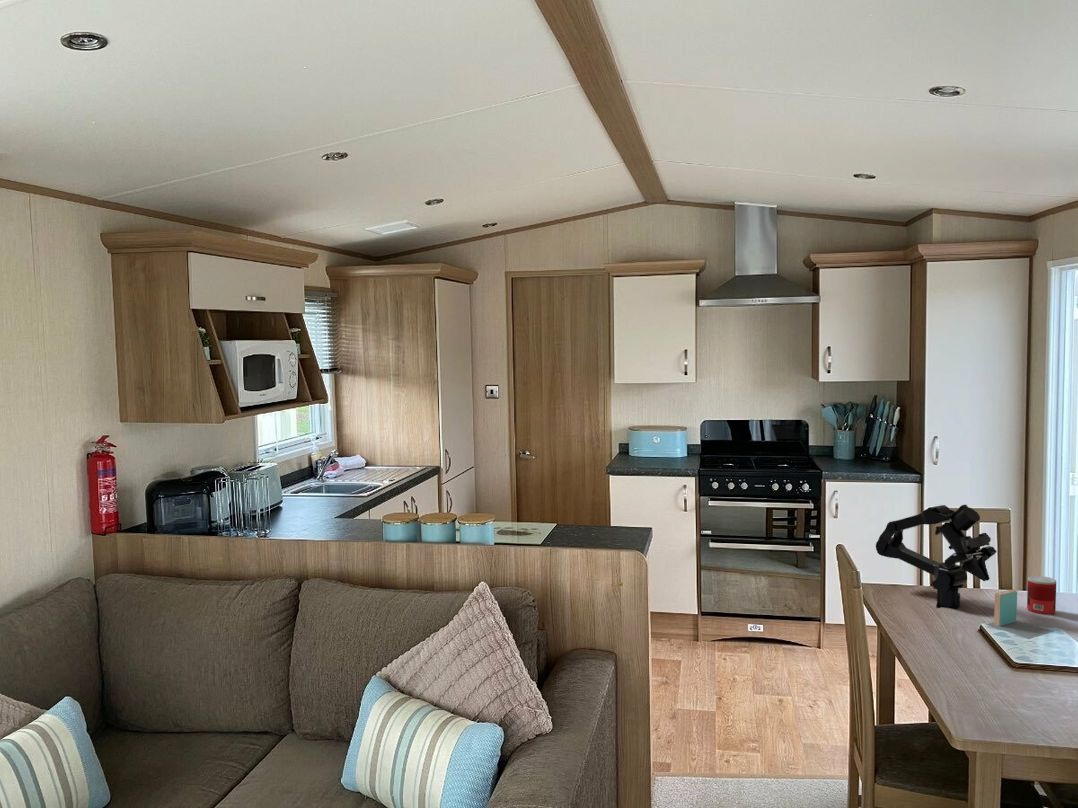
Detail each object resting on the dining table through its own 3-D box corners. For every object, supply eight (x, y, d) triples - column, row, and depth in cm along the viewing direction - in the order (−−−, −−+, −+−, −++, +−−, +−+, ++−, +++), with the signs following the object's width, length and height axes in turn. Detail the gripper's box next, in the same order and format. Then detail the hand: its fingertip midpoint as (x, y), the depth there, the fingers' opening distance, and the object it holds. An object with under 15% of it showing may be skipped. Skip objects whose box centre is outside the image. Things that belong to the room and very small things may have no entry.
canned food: (1060, 615, 269) (1061, 582, 268) (1035, 616, 269) (1036, 582, 268) (1046, 608, 277) (1047, 575, 276) (1022, 608, 277) (1023, 575, 276)
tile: (994, 624, 261) (994, 593, 260) (1010, 620, 265) (1011, 589, 264) (1000, 626, 259) (1001, 595, 258) (1016, 622, 263) (1017, 591, 262)
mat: (985, 625, 262) (985, 624, 262) (1010, 619, 267) (1010, 617, 267) (1028, 640, 249) (1028, 638, 249) (1053, 633, 254) (1054, 631, 254)
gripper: (953, 528, 266) (984, 571, 257) (991, 521, 274) (1023, 562, 265) (931, 547, 274) (961, 589, 265) (969, 540, 282) (999, 580, 273)
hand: (987, 580), depth 267 cm, fingers closed
